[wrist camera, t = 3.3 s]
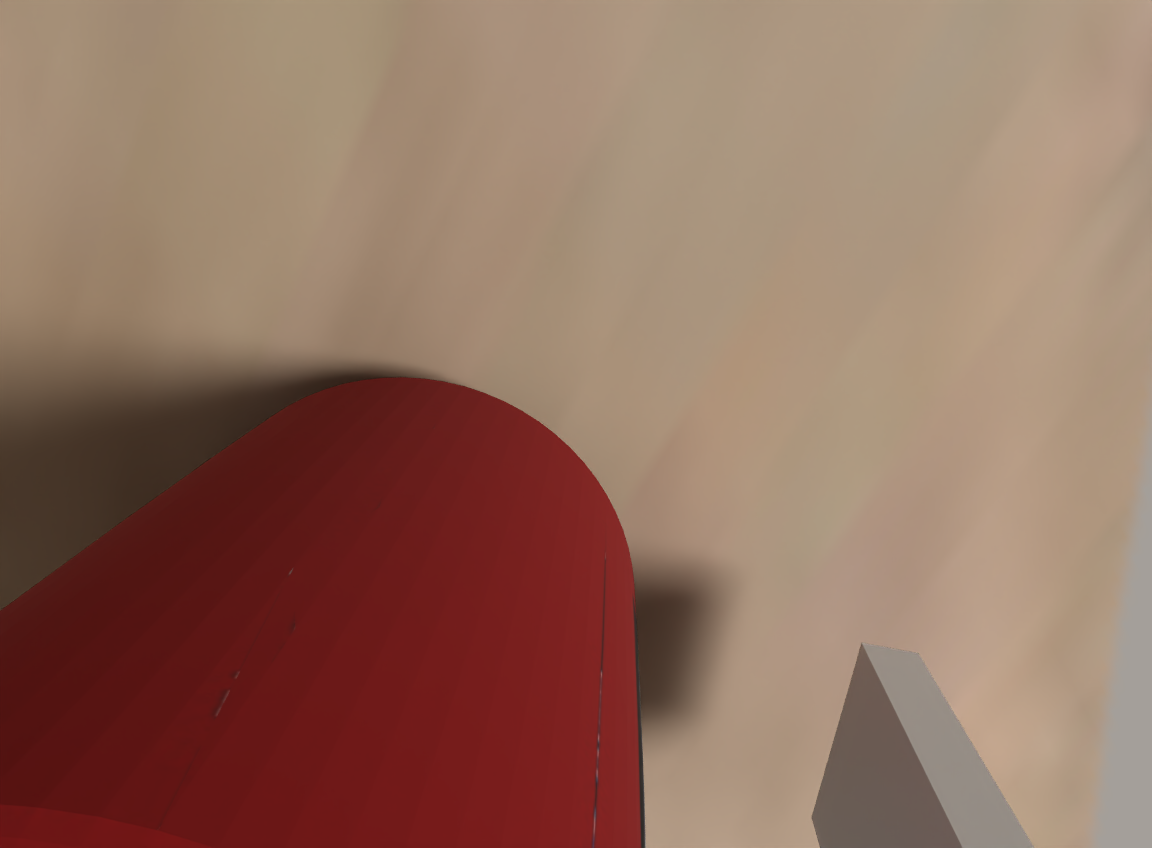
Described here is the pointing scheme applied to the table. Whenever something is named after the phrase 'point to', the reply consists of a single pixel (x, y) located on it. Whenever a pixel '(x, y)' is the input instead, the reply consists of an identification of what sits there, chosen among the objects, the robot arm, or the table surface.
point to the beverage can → (338, 646)
